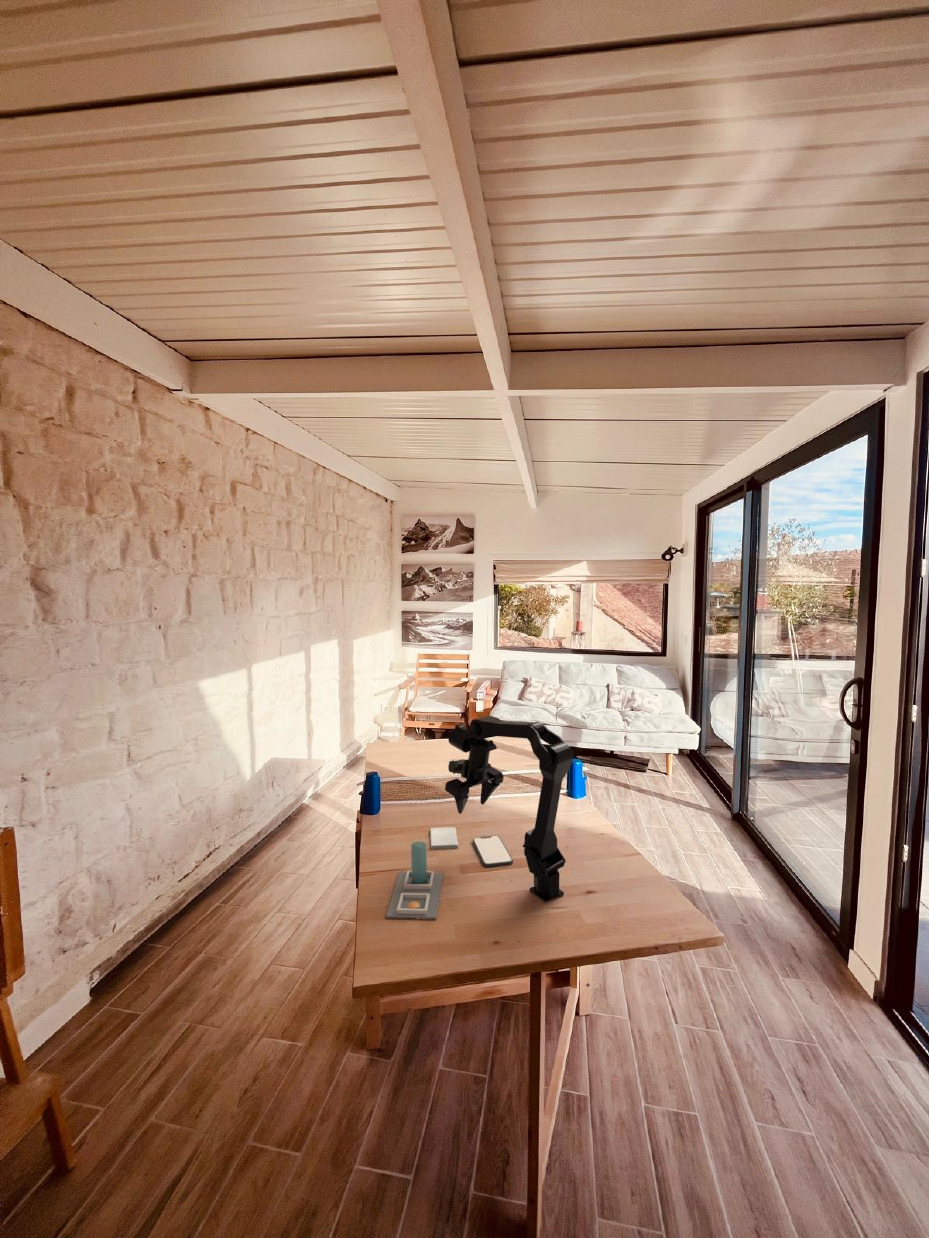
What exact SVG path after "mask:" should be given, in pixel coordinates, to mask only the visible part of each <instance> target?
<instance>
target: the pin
mask: <svg viewBox="0 0 929 1238" xmlns="http://www.w3.org/2000/svg"><path fill="white" fill-rule="evenodd" d="M410 849H411V850H410V854H411V855H410V857H411V860H410V861H411V869H410V871H411V872H412V884H426V882H427V871H428V870H427V865H428V864H427V858H428V857H427V856H428V855H427V843H426V842H424V841H414V842H412V843H411V846H410Z"/></svg>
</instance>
